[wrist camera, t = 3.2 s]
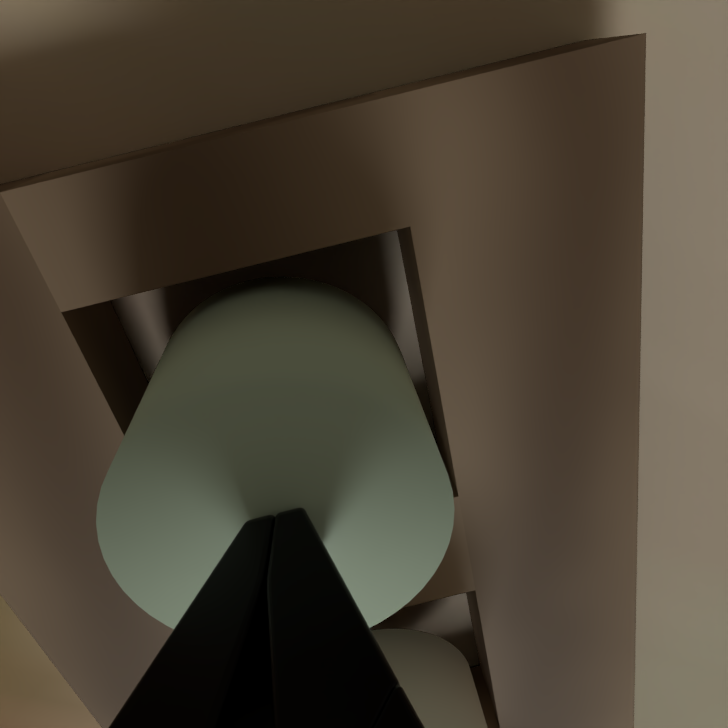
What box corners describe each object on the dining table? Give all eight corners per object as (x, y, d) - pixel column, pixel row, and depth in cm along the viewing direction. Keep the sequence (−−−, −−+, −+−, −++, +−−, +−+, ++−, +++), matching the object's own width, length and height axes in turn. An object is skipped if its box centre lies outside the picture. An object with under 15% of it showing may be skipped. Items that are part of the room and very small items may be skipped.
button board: (585, 40, 10) (645, 32, 8) (605, 806, 23) (631, 866, 22) (-163, 224, 10) (-258, 255, 9) (275, 886, 23) (273, 953, 22)
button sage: (379, 247, 10) (423, 337, 7) (424, 459, 13) (474, 607, 9) (116, 313, 10) (26, 435, 7) (208, 512, 13) (176, 680, 9)
